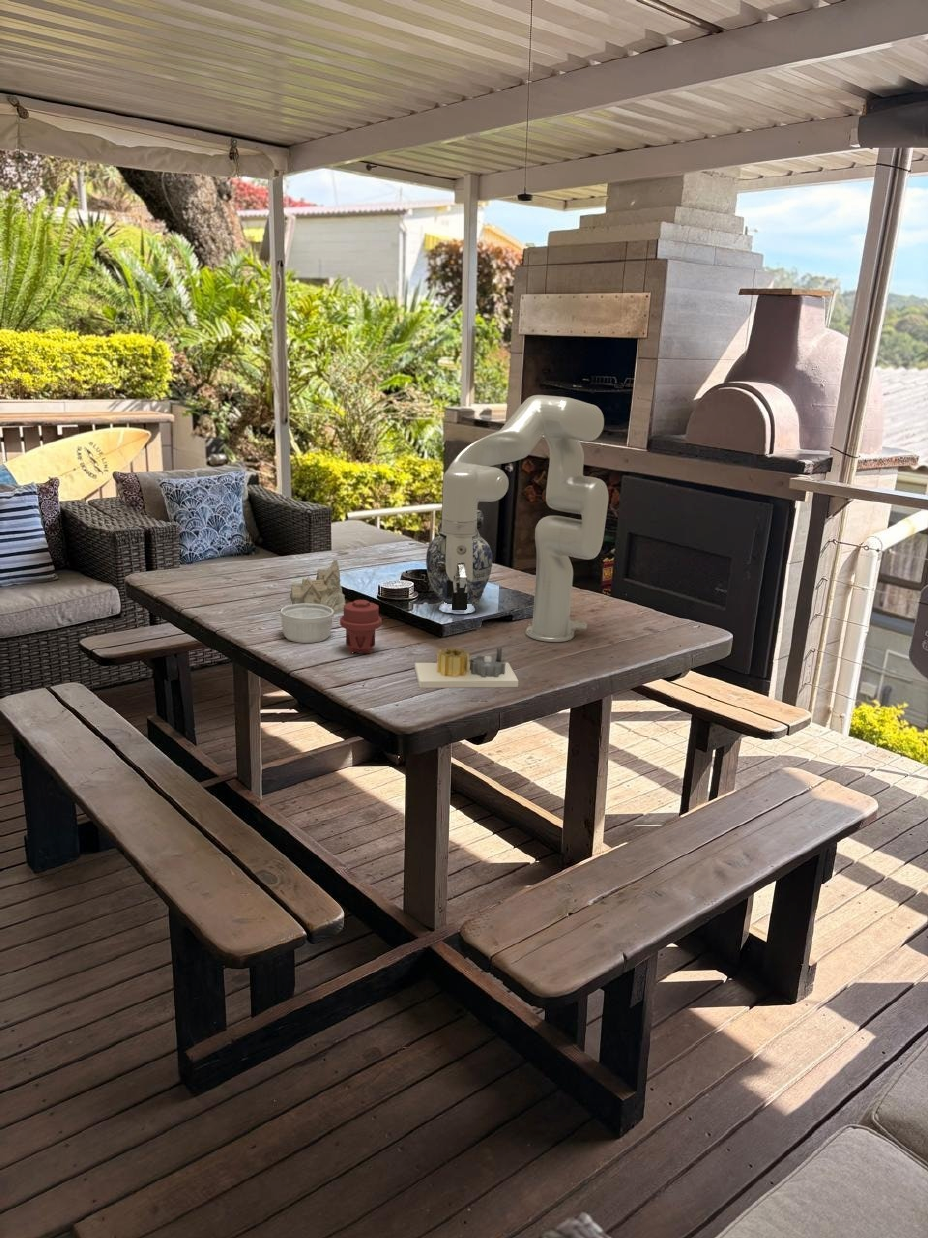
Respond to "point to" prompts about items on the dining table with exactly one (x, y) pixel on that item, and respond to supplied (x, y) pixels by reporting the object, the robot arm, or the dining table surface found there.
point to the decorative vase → (480, 565)
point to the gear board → (470, 674)
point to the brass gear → (452, 662)
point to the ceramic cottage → (321, 589)
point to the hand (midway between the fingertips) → (456, 603)
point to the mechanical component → (360, 625)
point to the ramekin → (307, 622)
